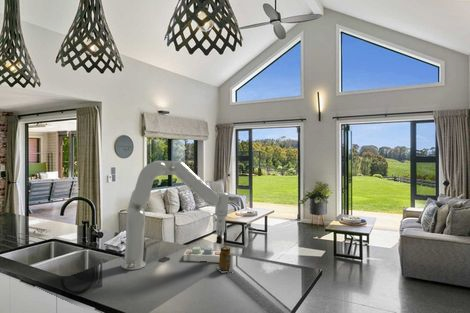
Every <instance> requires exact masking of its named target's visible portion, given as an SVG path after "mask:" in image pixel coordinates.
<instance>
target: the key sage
mask: <svg viewBox="0 0 470 313" xmlns="http://www.w3.org/2000/svg"><path fill="white" fill-rule="evenodd" d="M191 250H192V254H200V250H202V248H201V247H200V246H193V247H192V249H191Z"/></svg>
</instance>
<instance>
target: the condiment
mask: <svg viewBox="0 0 470 313" xmlns="http://www.w3.org/2000/svg"><path fill="white" fill-rule="evenodd" d="M220 251H221V252H220V260H219V262H218V263H219V264H218V265H219V266H218V268H219V270H221V271H229V270H230V269H231V257H232V255H231V248H230V247H228V246H222V247H221V248H220ZM233 273H234V271H233V272H232V273H231V274H233Z"/></svg>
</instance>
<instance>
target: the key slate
mask: <svg viewBox="0 0 470 313" xmlns="http://www.w3.org/2000/svg"><path fill="white" fill-rule="evenodd" d="M203 250H204V254H209V255H211V254H212V251H213V248H212V247H207V246H206V247H204V248H203Z"/></svg>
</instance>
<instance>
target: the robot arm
mask: <svg viewBox="0 0 470 313" xmlns="http://www.w3.org/2000/svg"><path fill="white" fill-rule="evenodd" d="M169 175H170V176H171V175H172V176H175V177H176V178H178V180H180V181H181V182H182V183H183V184H184V185H185V186H186V187H187V188H189V189H190V190H191V191H192V192H194V193H195V194H197V195H198V196H199V197H200V198H201V199H202V201H203V202H204V203H205V204H207V205H208V206H210V207H215V208H214V209H215V211H214V216H216V223H215V224H216V226H215V227H216V229H215V232H216V233H217V234H216V240H215V241H216V244H218V245H221V244H223V243H222V242H223V234H224V233H225V230H226V217H228V213H229V212H228V209H229V195H230V194H229V193H228V192H223V191H222V192H220V191H219V192H216V191H214V190H213V189H212V188H211V187H210V186H209V185H207V184H206V182H205V181H203V179H202V178H200V177H199V176H198V175H197V174H196V173H195V172H194V171H193V170H192V169H191V168H190V167H189V166H187V164H185V162H183V161H181V160H154V161H152V162H150V163H148V164H147V165H145V166H144V167H143V168H142V169H141V170H140V172H139V174H138V177H137V180H136V184H135V188H134V189H133V191H132V192H131V193H132V194H131V195H130V200H129V203H128V208H127V212H126V223H125V224H126V226H125V227H126V229H125V248H124V249H125V250H124V261H123V262H122V263H121V264H120V267H121V268H122V269H124V270H128V271H129V270H130V271H134V270H139V269H143V268H144V267H145V266H146V264H147V263H146V261H144V248H145V247H144V245H145V230H146V228H145V227H146V212H145V211H146V207H147V204H148V203H149V201H150V197H151V191H152V188H153V185H154V181H155V180H156V178H157V177H160V176H169Z"/></svg>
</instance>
